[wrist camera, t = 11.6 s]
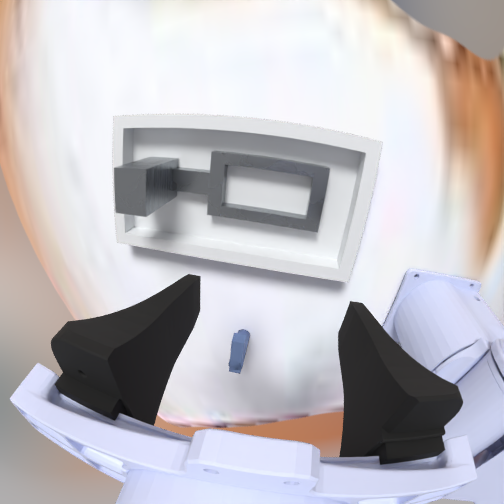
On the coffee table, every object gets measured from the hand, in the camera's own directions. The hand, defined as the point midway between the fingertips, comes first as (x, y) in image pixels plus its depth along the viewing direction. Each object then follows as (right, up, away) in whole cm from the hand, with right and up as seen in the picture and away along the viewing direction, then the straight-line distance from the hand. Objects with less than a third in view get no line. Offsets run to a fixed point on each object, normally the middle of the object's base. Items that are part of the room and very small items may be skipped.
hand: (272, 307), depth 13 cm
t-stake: (-2, -5, +13) cm, 15 cm away
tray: (-2, +7, +7) cm, 11 cm away
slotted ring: (-2, +8, +7) cm, 10 cm away
